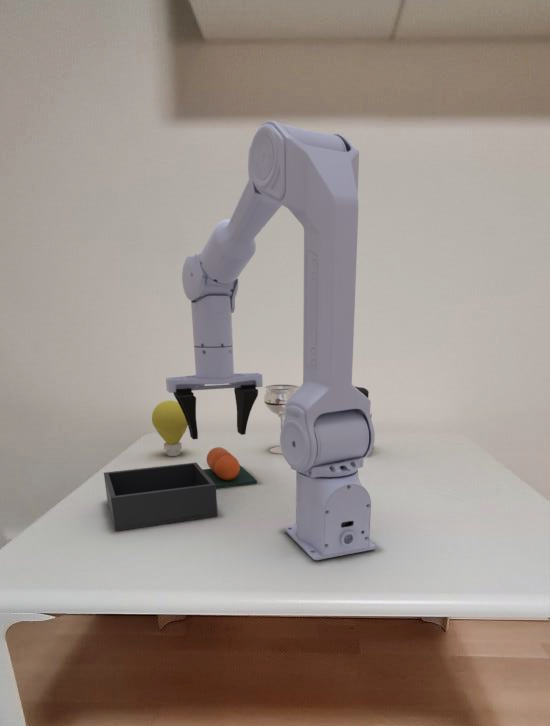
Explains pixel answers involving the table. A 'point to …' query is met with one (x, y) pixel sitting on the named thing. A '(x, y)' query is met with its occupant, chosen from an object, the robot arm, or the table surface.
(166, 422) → the light bulb
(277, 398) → the wineglass
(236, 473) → the orange lobed capsule
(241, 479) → the pad
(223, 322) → the robot arm
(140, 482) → the basin
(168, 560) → the table surface
